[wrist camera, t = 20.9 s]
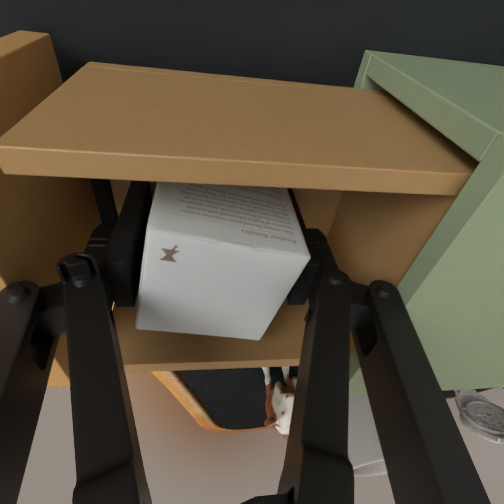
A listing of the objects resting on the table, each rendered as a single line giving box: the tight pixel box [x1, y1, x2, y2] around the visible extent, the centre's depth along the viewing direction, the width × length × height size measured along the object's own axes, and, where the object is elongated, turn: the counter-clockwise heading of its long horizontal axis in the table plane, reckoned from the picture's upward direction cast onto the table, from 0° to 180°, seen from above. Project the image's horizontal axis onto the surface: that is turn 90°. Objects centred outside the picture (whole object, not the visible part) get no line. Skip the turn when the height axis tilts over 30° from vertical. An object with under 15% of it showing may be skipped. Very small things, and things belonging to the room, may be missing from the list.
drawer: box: [0, 30, 480, 387], centre depth 15 cm, size 22×14×9 cm, turn 84°
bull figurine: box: [262, 366, 297, 440], centre depth 36 cm, size 4×13×8 cm, turn 13°
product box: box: [135, 182, 311, 340], centre depth 15 cm, size 6×6×7 cm
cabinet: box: [349, 50, 504, 396], centre depth 18 cm, size 18×15×11 cm
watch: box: [455, 387, 504, 444], centre depth 33 cm, size 6×8×11 cm
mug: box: [348, 395, 388, 477], centre depth 41 cm, size 11×10×10 cm
